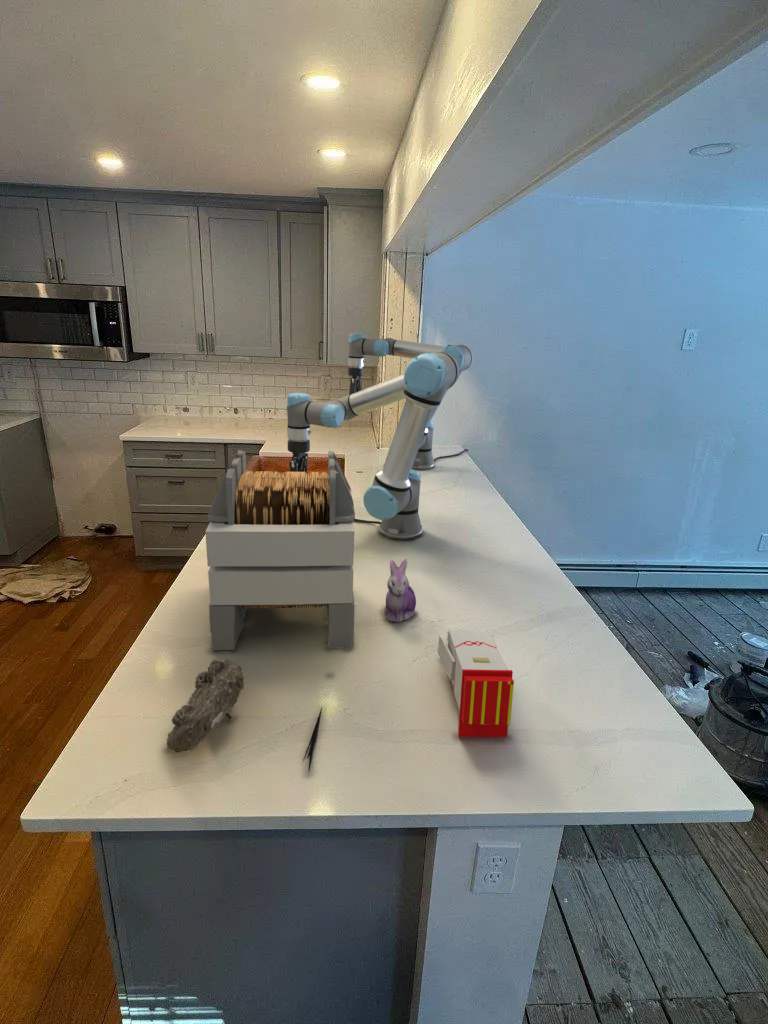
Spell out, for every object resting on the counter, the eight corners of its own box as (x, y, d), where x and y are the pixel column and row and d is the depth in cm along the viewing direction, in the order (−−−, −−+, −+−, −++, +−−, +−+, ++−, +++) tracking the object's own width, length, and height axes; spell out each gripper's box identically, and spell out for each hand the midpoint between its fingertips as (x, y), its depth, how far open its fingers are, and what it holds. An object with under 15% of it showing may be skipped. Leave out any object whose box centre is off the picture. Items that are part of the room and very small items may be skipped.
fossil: (192, 660, 117) (244, 628, 112) (224, 691, 120) (276, 661, 115) (142, 746, 98) (202, 712, 93) (182, 779, 101) (242, 748, 96)
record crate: (231, 583, 159) (223, 441, 145) (347, 582, 163) (350, 443, 149) (209, 653, 127) (196, 479, 114) (354, 649, 131) (359, 481, 117)
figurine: (392, 627, 141) (395, 572, 136) (374, 608, 149) (376, 556, 144) (425, 619, 145) (429, 566, 140) (405, 601, 154) (408, 550, 149)
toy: (488, 613, 130) (523, 677, 101) (484, 667, 133) (517, 744, 104) (435, 612, 130) (455, 676, 101) (432, 666, 133) (451, 743, 103)
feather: (331, 679, 122) (336, 673, 122) (307, 777, 96) (313, 769, 95) (324, 675, 122) (329, 669, 121) (298, 772, 95) (304, 764, 95)
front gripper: (301, 446, 183) (301, 514, 191) (317, 435, 200) (316, 497, 208) (278, 444, 184) (279, 511, 192) (296, 433, 201) (297, 495, 209)
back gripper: (358, 370, 260) (357, 416, 267) (368, 365, 283) (366, 407, 291) (342, 369, 261) (341, 415, 268) (353, 364, 284) (352, 406, 292)
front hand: (299, 504), depth 200 cm, fingers closed on brick, 5 cm apart
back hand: (354, 411), depth 280 cm, fingers open, 13 cm apart
